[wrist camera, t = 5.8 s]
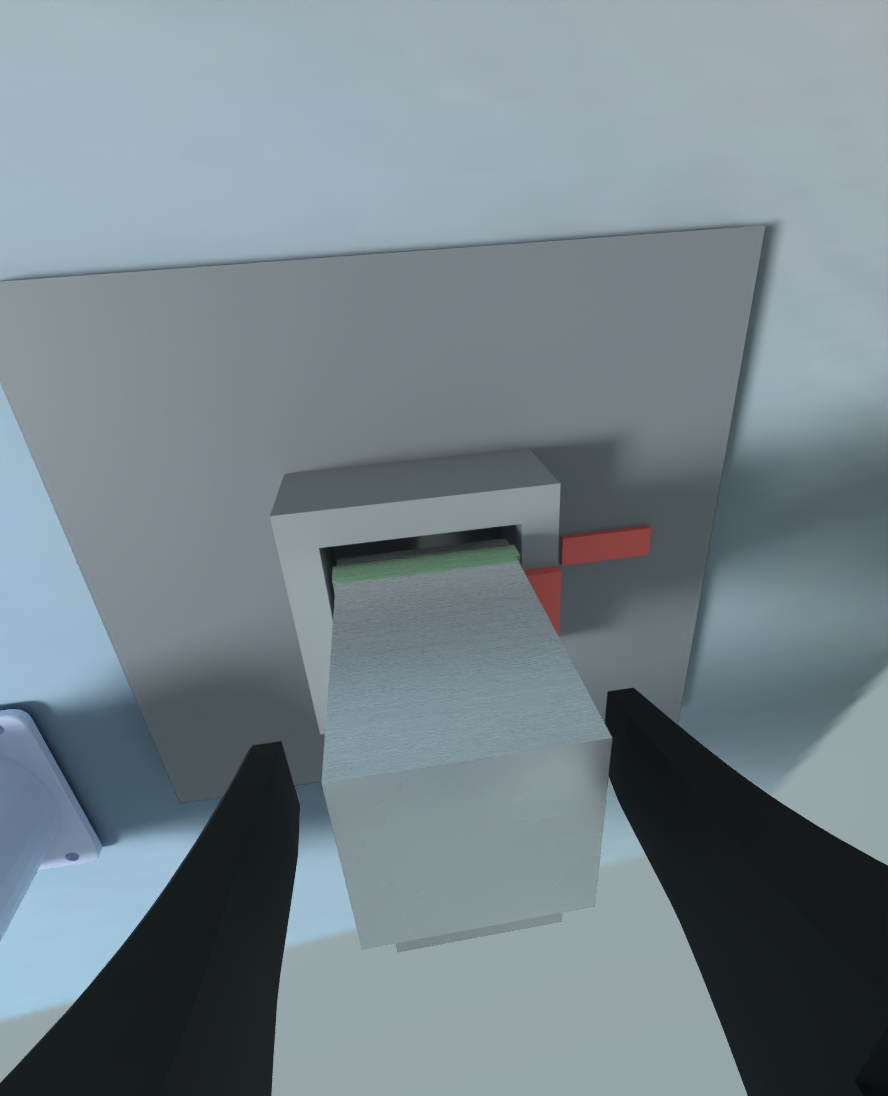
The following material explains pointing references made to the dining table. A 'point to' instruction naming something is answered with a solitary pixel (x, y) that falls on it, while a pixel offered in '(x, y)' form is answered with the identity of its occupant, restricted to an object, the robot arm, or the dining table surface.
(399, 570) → the white rectangular block
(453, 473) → the jack base
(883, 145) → the dining table surface
